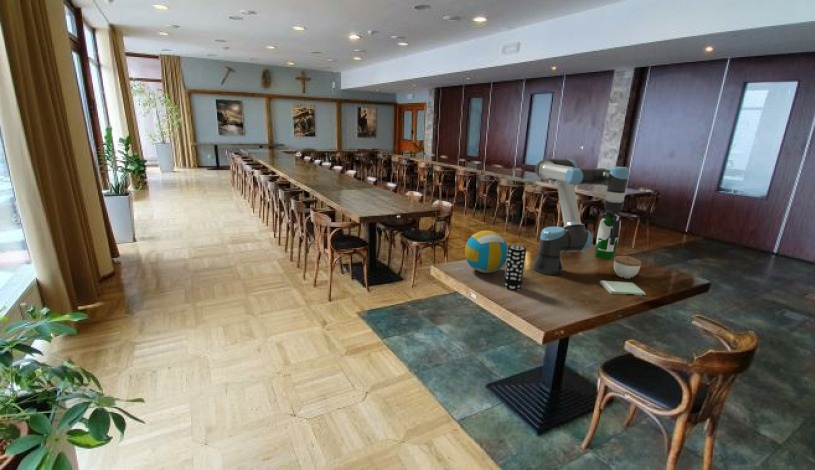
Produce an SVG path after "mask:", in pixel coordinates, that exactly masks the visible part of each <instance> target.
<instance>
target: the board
mask: <svg viewBox="0 0 815 470" xmlns="http://www.w3.org/2000/svg"><path fill="white" fill-rule="evenodd" d="M599 284H600V285H601V286H602V287H603V288H604V289H605V290H606V291H607V292H608V293H609V294H612V295H613V294H614V295H626V294H634V295H633V296H642V295H645V296H646V295H647V294H646V292H645V291H644V290H642V288H640V287H639V286H638V285H637V284H635V283H633V282H629V281H627V282H626V281H611V280H610V281H609V280H599Z"/></svg>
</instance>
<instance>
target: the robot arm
mask: <svg viewBox="0 0 815 470" xmlns="http://www.w3.org/2000/svg"><path fill="white" fill-rule="evenodd" d="M534 171H535V174H536V176H537V177H538V178H539V179H543V180H551V181H553V182H552V183H553V186H555V187H557V194H558V200H559V205H560V210H561V215H562V221H563V227H561V226H547V227H545V228H543V229H542V230H541V233H540V236H539V238H540V239H539V246H538V254H537V256H536V258H535V261H534V262H533V266H532V269H533V270H534V271H535V272H538V273H541V274H544V275H548V276H549V275H550V276H556V275H557V276H558V275H561V274H562V273H563V270H564V268H563V261H562V253H566V252H567V253H572V252H573V253H574V252H575V253H580V252H581V253H582V252H586V251H587V250H589V249H590V248H591V245H592V242H593V235H592V232H591V231H590V230H588V229H586V226H585V224H583V223H582V221H581V217H580V210H579V207H578V206H579V205H578V201H577V200H578V199H577V196H576V190H575V186H576V185H578V186H579V185H581V186H582V185H583V186H586V185H588V186H589V185H590V186H593V185H594V186H606V187H607V188H606V194H605V201H604V206H603V208H604V210H603V213H602V214H603V215H602V218H601V220H602V219H603V218H605V219H606V216H608V217H612V218H613V229H612V228H611V231H610V236H609V237H608V238H609V240H608V246H607V251H610V252H613V250H614V244H615V239H616V238H618V237H619V238H620V233H619V226H620V221H621V218H622V216H621V215H619V212H620V211H622V210H623V207H624V203H623V202H624V200H625V197H626V196H627V195H626V191H627V185H628V181H629V174H630V169H629V168H628V167H626V166H611V168H610V169H607V168H603V167H601V168H600V167H599V168H582V167H578V164H577V161H575V160H574V159H569V158H568V159H567V158H545V159H542V160H540V161H538V162H537V164H536V165H535V170H534ZM574 185H575V186H574Z"/></svg>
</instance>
